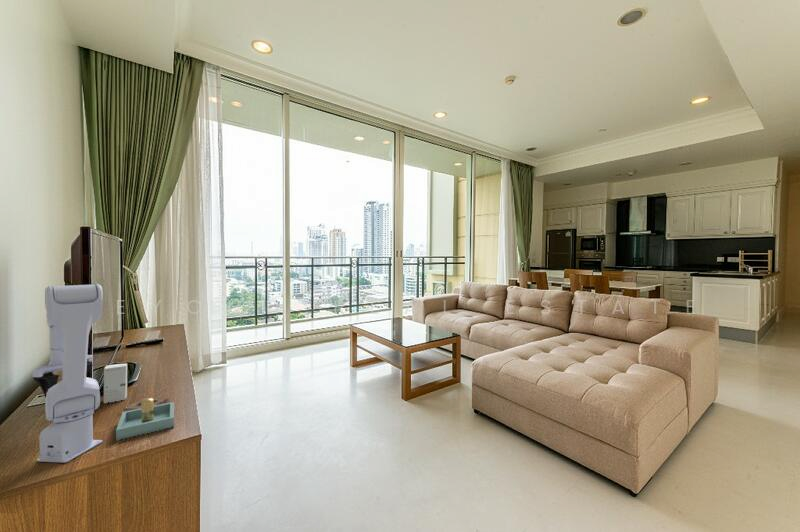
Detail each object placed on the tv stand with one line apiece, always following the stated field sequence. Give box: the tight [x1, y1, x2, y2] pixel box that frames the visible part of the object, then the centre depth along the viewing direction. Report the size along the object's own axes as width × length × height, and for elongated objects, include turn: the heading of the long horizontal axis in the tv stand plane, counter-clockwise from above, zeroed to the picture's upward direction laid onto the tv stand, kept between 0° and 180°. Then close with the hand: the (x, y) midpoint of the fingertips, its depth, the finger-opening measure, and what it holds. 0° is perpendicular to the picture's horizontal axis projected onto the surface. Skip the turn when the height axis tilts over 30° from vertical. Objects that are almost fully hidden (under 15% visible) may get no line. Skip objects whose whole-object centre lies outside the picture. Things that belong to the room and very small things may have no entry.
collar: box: [123, 396, 170, 412], centre depth 112 cm, size 8×8×2 cm
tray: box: [115, 401, 175, 442], centre depth 100 cm, size 13×13×3 cm
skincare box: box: [103, 362, 128, 404], centre depth 118 cm, size 6×4×12 cm
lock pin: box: [140, 396, 155, 423], centre depth 100 cm, size 3×3×7 cm
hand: (65, 393), depth 98 cm, fingers open, 7 cm apart
